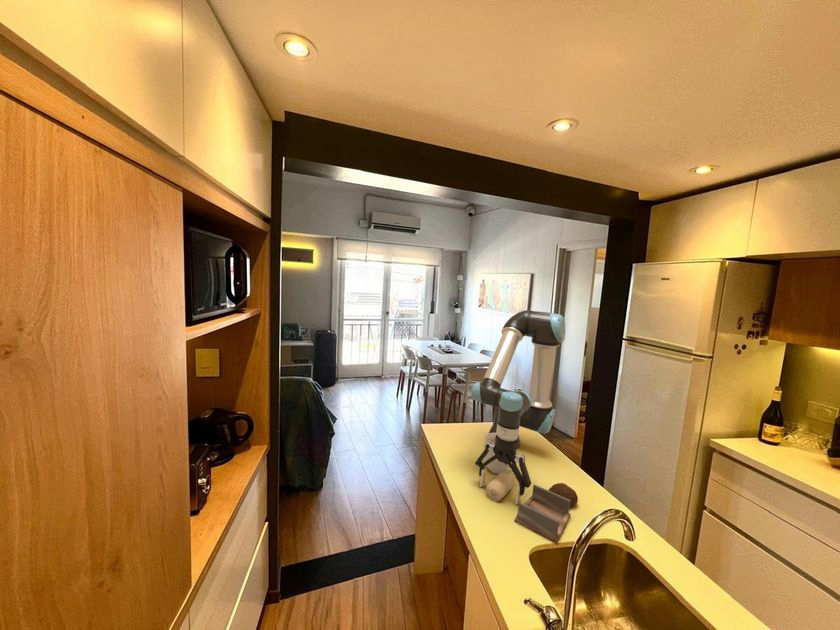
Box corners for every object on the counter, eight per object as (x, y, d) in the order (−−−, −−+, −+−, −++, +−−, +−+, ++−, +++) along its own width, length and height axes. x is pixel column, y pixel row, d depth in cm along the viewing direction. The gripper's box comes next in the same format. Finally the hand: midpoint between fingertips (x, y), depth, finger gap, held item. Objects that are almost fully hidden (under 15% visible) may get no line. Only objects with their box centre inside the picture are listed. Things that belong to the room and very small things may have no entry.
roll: (497, 485, 126) (498, 469, 125) (513, 491, 122) (513, 475, 122) (485, 497, 117) (486, 480, 117) (501, 504, 114) (502, 487, 114)
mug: (523, 478, 131) (527, 446, 130) (503, 485, 125) (508, 452, 124) (495, 459, 144) (499, 430, 142) (476, 465, 137) (480, 435, 136)
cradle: (531, 498, 119) (533, 482, 118) (570, 516, 111) (572, 499, 110) (514, 521, 106) (516, 503, 105) (556, 543, 98) (559, 524, 98)
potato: (581, 511, 114) (584, 492, 114) (551, 508, 114) (553, 489, 114) (572, 498, 121) (574, 480, 121) (543, 495, 121) (546, 477, 121)
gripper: (470, 427, 122) (463, 482, 124) (538, 453, 107) (530, 516, 109) (479, 422, 128) (473, 474, 130) (545, 446, 113) (537, 505, 115)
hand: (499, 493), depth 120 cm, fingers open, 13 cm apart
